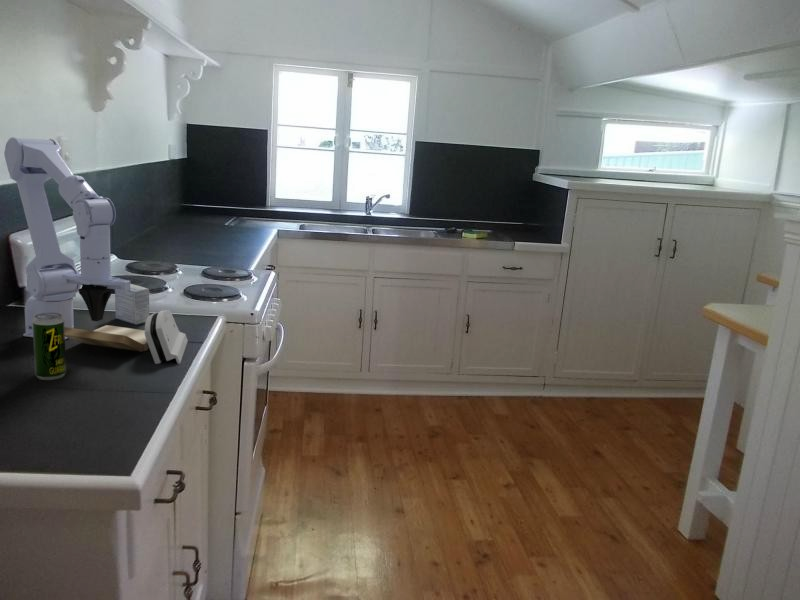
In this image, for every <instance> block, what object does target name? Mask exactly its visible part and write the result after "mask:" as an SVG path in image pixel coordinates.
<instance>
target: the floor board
mask: <svg viewBox="0 0 800 600" xmlns="http://www.w3.org/2000/svg"><path fill="white" fill-rule="evenodd" d="M93 331H96V332H103V333H110V334H117V335H124V336H127V337H129V338H131V339H133V340H135V341H137V342H139V343H142V344H144V346H143V349H142V352H145V351H148V350H150V348H149V345H148V343H147V340H146V337H145V329H138V328H137V329H136V328H130V327H123V326H116V325H108V324H105V325H104V326H101V327H99V328H97V329H94V330H93Z"/></svg>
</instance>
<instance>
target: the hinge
mask: <svg viewBox="0 0 800 600" xmlns="http://www.w3.org/2000/svg"><path fill="white" fill-rule="evenodd" d="M144 330H145V337H146V340H147V343H148V345H149V348H150V349H149V351H150V353H151V356H152V359H153V361H154V364H155V365H159V364H161V363H162V362H163V360H165V361H166V362H169V361H171V360H173V359H175V361H176V363H177V365H179V364H181V362H182V358H183V356H184V353H185V350H186V347H187V344H188V341H189V340H188V338H187V335H186V333H185V332H181V331H180V330H179V327H178V325H177V324H176V321H175V318H174V316H173V313H172V311H171V310H170V309H165V310H160V311H158V312H157V311H155V312H153V313H152V314H150V316H148V318H147V320H146V323H144Z"/></svg>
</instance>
